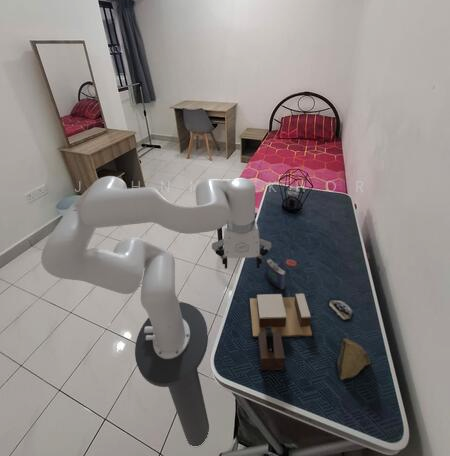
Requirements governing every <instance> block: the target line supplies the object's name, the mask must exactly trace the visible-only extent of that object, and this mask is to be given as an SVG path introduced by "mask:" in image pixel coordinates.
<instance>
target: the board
mask: <svg viewBox="0 0 450 456" xmlns="http://www.w3.org/2000/svg"><path fill="white" fill-rule="evenodd" d="M282 299H283V303H284V308H285V313H286V325H285V327H272V332H280V334H281V338H283V337H284V338H285V337H286V338H287V337H288V338H289V337H312V336H313V332H312V329H311V325H310V324H309V327H300V324H299V320H298V316H297V312H296V308H295V304H294V303H295V296H285V297H284V296H282ZM249 309H250V319H251V329H252V331H251V332H252V338H258V333H259V332H265V327H259V319H258V310H257V297H251V298H249Z"/></svg>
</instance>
